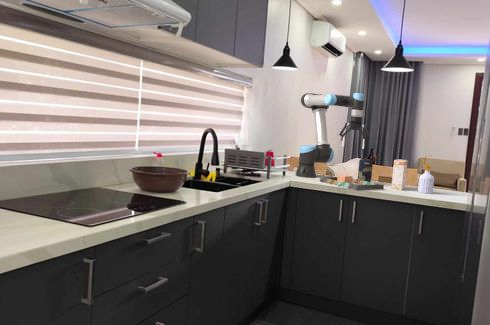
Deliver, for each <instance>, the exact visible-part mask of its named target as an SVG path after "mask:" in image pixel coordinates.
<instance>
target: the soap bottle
mask: <svg viewBox="0 0 490 325" xmlns="http://www.w3.org/2000/svg"><path fill="white" fill-rule="evenodd" d="M429 157H431V155H427V156H424V157H423V167H425V168H426V169H424V173H422V174H421V175H419V178H418V179H419V180H418V184H417V185H418V186H417V192H418V193H421V194H428V195H431V194H433V193H434V185H435V176H433V175H432V174H431V170H430V168H431V167H433V165H427V164H426V159H427V158H429Z"/></svg>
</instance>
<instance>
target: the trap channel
mask: <svg viewBox="0 0 490 325" xmlns="http://www.w3.org/2000/svg"><path fill="white" fill-rule="evenodd" d="M337 178H338V176H336V177H335V176H333V177H332V176H329V177H328V176H324V177H323V176H321V177H319V182H320V183H324V182H325V184H328V183H331V184H330V185H332V184H334V186H337V185H339V186H338V187H341V186H343V187H342V188H345V187H346V189H350V190H355V191H368V190H370V189H383V190H384V186H385V184H381V183H376V182H372V181H371V182H367V181H362V180H358V178H357V179H356V178H352V184H350V183H345V182H341V181H337ZM354 183H355V184H354ZM370 191H371V190H370Z"/></svg>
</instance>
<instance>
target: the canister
mask: <svg viewBox="0 0 490 325" xmlns="http://www.w3.org/2000/svg"><path fill="white" fill-rule="evenodd" d="M358 161H359V163H358V172H357V180H362V181H367V182H372V176H373V165H374V164H373V163H374V161H373V159H369V158H367V157H365V158H359V160H358Z"/></svg>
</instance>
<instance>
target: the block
mask: <svg viewBox="0 0 490 325" xmlns="http://www.w3.org/2000/svg"><path fill="white" fill-rule="evenodd" d="M337 177H338V178H337V181H341V182H345V183H350V184H353V183H352V179H354V177H353V175H347V174H337Z"/></svg>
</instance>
